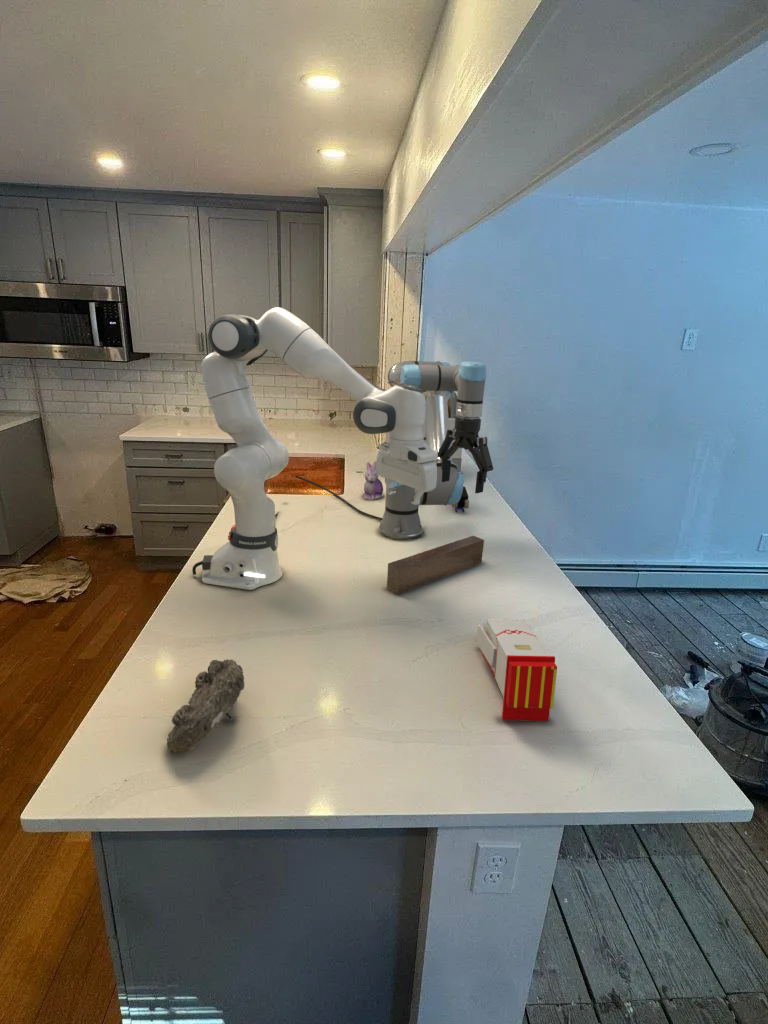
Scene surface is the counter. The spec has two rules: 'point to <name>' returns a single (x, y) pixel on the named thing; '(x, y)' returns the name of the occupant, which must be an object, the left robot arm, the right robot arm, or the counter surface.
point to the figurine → (372, 483)
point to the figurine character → (462, 501)
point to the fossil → (206, 705)
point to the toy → (519, 668)
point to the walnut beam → (434, 564)
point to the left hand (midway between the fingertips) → (403, 499)
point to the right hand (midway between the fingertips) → (461, 486)
